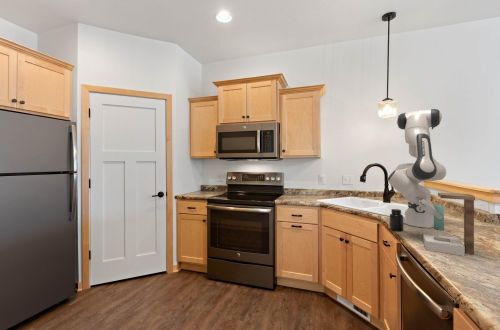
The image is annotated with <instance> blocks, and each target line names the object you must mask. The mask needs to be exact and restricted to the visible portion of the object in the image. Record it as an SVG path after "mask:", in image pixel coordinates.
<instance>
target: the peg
mask: <svg viewBox="0 0 500 330" xmlns="http://www.w3.org/2000/svg"><path fill="white" fill-rule="evenodd" d="M433 205H434V207H435V209H436V210H437V212H438V213H439V214H440V215H441V216H442V218H441V219H438V218H437V217H436V216H434V227H433V230H435V231H439V232H440V231H441V232H443V231H444V230H445V206H444V205H440V204H433Z"/></svg>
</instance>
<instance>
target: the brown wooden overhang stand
mask: <svg viewBox="0 0 500 330" xmlns="http://www.w3.org/2000/svg"><path fill="white" fill-rule="evenodd" d="M437 196H438V197H439V198H440V199H447V200H448V199H449V200H463V245H464V246H465V253H466V254H469V255H475V201H476V196H475V195H473V194H470V193H460V192H459V193H455V192H437Z"/></svg>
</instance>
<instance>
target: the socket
mask: <svg viewBox="0 0 500 330" xmlns="http://www.w3.org/2000/svg"><path fill="white" fill-rule="evenodd" d="M422 236H423V238H422V241H423V244H424V245H423V246H424V249H425V250H426V251H432V252H437V253H444V254H449V255H457V256H463V257H464V256H465V255H466V254H465V253H466V252H465V246H464V243H463V242H462V241H461V240H460V239H459V238H458V237H451V236H445V235H437V234H436V235H435V234H428V233H423V235H422Z"/></svg>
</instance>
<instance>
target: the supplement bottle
mask: <svg viewBox="0 0 500 330" xmlns="http://www.w3.org/2000/svg"><path fill="white" fill-rule="evenodd" d="M403 220H404V215H403V214H402V210H401V209H399V208H391V213H390V214H389V230H390V231H393V232H400V233H401V232H403V231H404V228H405V227H404V223H403Z"/></svg>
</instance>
